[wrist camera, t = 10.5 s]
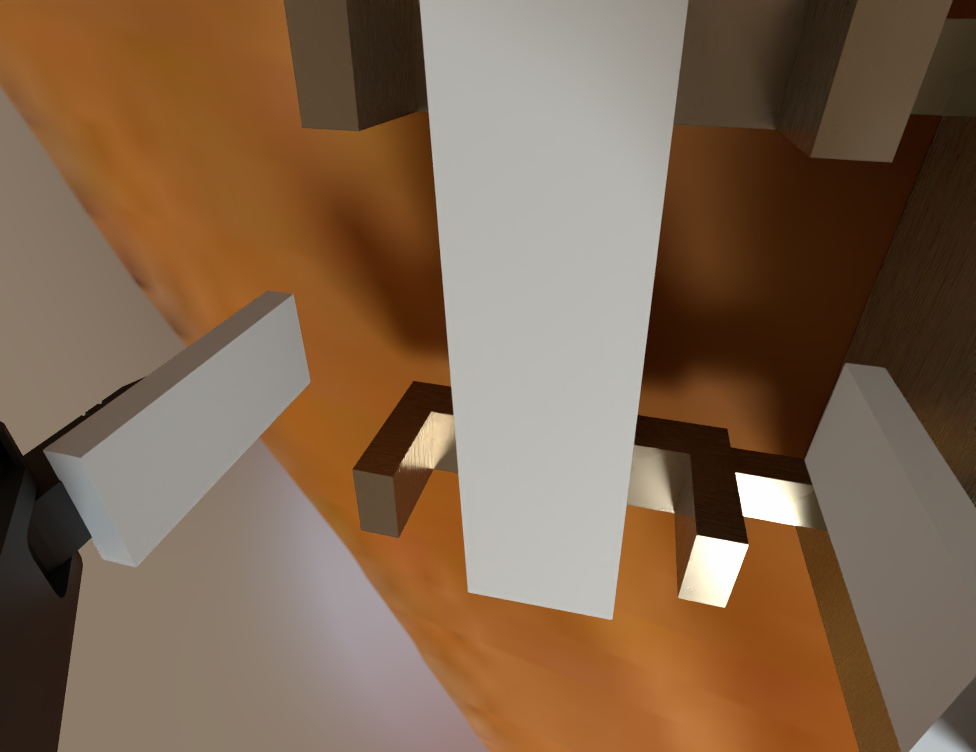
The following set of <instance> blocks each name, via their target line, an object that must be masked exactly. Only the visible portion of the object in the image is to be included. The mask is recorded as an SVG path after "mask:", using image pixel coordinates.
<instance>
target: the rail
mask: <svg viewBox="0 0 976 752" xmlns="http://www.w3.org/2000/svg"><path fill="white" fill-rule="evenodd" d="M419 1H420V13H421V25H422V37H423V49H424V61H425V74H426V86H427V98H428V110H429V122H430V134H431V146H432V159H433V171H434V183H435V195H436V207H437V219H438V231H439V243H440V256H441V268H442V280H443V292H444V304H445V316H446V328H447V341H448V353H449V365H450V377H451V389H452V401H453V413H454V426H455V438H456V450H457V462H458V474H459V486H460V498H461V511H462V523H463V535H464V547H465V559H466V571H467V583H468V592H470V593H475V594H480V595H485V596H490V597H496V598H501V599H506V600H511V601H516V602H522V603H527V604H532V605H537V606H542V607H548V608H553V609H558V610H563V611H568V612H574V613H579V614H584V615H589V616H594V617H600V618H605V619H610V620H612V618H613V610H614V602H615V594H616V585H617V577H618V569H619V561H620V553H621V545H622V537H623V528H624V520H625V512H626V504H627V496H628V488H629V480H630V472H631V463H632V455H633V447H634V439H635V431H636V423H637V415H638V406H639V398H640V390H641V382H642V374H643V366H644V358H645V350H646V341H647V333H648V325H649V317H650V309H651V301H652V293H653V284H654V276H655V268H656V260H657V252H658V244H659V236H660V228H661V219H662V211H663V203H664V195H665V187H666V179H667V171H668V162H669V154H670V146H671V138H672V130H673V122H674V114H675V106H676V97H677V89H678V81H679V73H680V65H681V57H682V49H683V40H684V32H685V24H686V16H687V8H688V0H419Z"/></svg>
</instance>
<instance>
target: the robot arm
mask: <svg viewBox="0 0 976 752" xmlns="http://www.w3.org/2000/svg"><path fill="white" fill-rule="evenodd" d="M309 383H310V377H309V372H308V366H307V361H306V356H305V351H304V346H303V341H302V336H301V330H300V325H299V320H298V315H297V310H296V305H295V300H294V294H289V293H281V292H273V291H266V292H265V293H263V294H262V295H261V296H259V297H258V298H256V299H255V300H254V301H252V302H251V303H249V304H248V305H247V306H245V307H244V308H242V309H241V310H239V311H238V312H237V313H235V314H234V315H232V316H231V317H230V318H228V319H227V320H225V321H224V322H223V323H221V324H220V325H218V326H217V327H216V328H214V329H213V330H211V331H210V332H208V333H207V334H206V335H204V336H203V337H201V338H200V339H199V340H197V341H196V342H194V343H193V344H192V345H190V346H189V347H187V348H186V349H185V350H183V351H182V352H180V353H179V354H178V355H176V356H175V357H173V358H172V359H171V360H169V361H168V362H166V363H165V364H163V365H162V366H161V367H159V368H158V369H156V370H155V371H154V372H152V373H151V374H149V375H148V376H146V377H144V378H142V379H139V380H137V381H135V382H133V383H130V384H128V385H126V386H123V387H121V388H120V389H119V390H117V391H116V392H114V393H113V394H112V395H110V396H108V397H107V398H106V399H104V400H103V401H102V404H97V405H96V406H94V407H93V408H91V409H90V410H88V411H87V412H86V414H85V416H82V415H81V416H80V417H78V418H77V419H75V420H74V421H73V422H71V423H70V424H68V425H67V426H65V427H64V428H63V429H61V430H60V431H58V432H57V433H55V434H54V435H53V436H51V437H50V438H48V439H47V440H45V441H44V442H42V443H41V444H40V445H38V446H37V447H35V448H34V449H32V450H31V451H30V452H28V453H27V454H25V455H24V456H23V455H22V454H21V452H20V450H19V448H18V447H17V445H16V443H15V441H14V440H13V438H12V436H11V434H10V433H9V431H8V429H7V428H6V426H5V424H4V423H2V422H1V421H0V752H57V750H58V743H59V734H60V727H61V720H62V713H63V706H64V698H65V692H66V684H67V677H68V669H69V662H70V655H71V648H72V641H73V634H74V626H75V619H76V612H77V604H78V597H79V589H80V582H81V575H82V568H83V563H82V558H81V556H80V554H79V552H78V550H79V549H80V548H81V547H82V546H83V545H84V544H85V543H86V542H87V541H88V540H89V539H92V541H93V542H94V544H95V546H96V548H97V550H98V552H99V553H100V555H101V557H102V559H104V560H108V561H112V562H116V563H120V564H124V565H128V566H133V567H137V566H138V565H139V564H140V563H141V562H142V561H143V560H144V558H145V557H146V556H147V555H148V554H149V553H150V552H151V551H152V550H153V549H154V548H155V547H156V546H157V545H158V544H159V542H160V541H161V540H162V539H163V538H164V537H165V536H166V535H167V534H168V533H169V532H170V531H171V530H172V529H173V528H174V527H175V525H177V523H178V522H179V521H180V520H181V519H182V518H183V517H184V516H185V515H186V514H187V513H188V512H189V511H190V510H191V508H192V507H193V506H194V505H195V504H196V503H197V502H198V501H199V500H200V499H201V498H202V497H203V496H204V495H205V494H206V493H207V492H208V491H209V489H210V488H211V487H212V486H213V485H214V484H215V483H216V482H217V481H218V480H219V479H220V478H221V477H222V476H223V474H225V472H226V471H227V470H228V469H229V468H230V467H231V466H232V465H233V464H234V463H235V462H236V461H237V460H238V459H239V458H240V456H241V455H242V454H243V453H244V452H245V451H246V450H247V449H248V448H249V447H250V446H251V445H252V444H253V443H254V442H255V440H257V438H258V437H259V436H260V435H261V434H262V433H263V432H264V431H265V430H266V429H267V428H268V427H269V426H270V425H271V424H272V423H273V421H274V420H275V419H276V418H277V417H278V416H279V415H280V414H281V413H282V412H283V411H284V410H285V409H286V408H287V407H288V406H289V404H290V403H291V402H292V401H293V400H294V399H295V398H296V397H297V396H298V395H299V394H300V393H301V392H302V391H303V390H304V389H305V387H306V386H307V385H308V384H309ZM805 463H806V466H807V469H808V472H809V475H810V478H811V481H812V484H813V487H814V490H815V493H816V496H817V500H818V503H819V506H820V509H821V512H822V515H823V518H824V521H825V524H826V527H827V530H828V533H829V536H830V539H831V542H832V545H833V548H834V551H835V554H836V557H837V560H838V563H839V566H840V569H841V572H842V575H843V578H844V581H845V584H846V587H847V590H848V593H849V596H850V599H851V602H852V605H853V608H854V611H855V614H856V617H857V620H858V623H859V626H860V629H861V632H862V635H863V638H864V641H865V644H866V647H867V650H868V653H869V656H870V659H871V662H872V665H873V668H874V672H875V675H876V678H877V681H878V684H879V687H880V690H881V693H882V696H883V699H884V702H885V705H886V708H887V711H888V714H889V717H890V720H891V723H892V726H893V729H894V732H895V735H896V738H897V741H898V744H899V747H900V750H901V752H976V508H975V506H974V505H973V503H972V501H971V500H970V498H969V497H968V495H967V494H966V492H965V491H964V489H963V488H962V486H961V484H960V483H959V481H958V480H957V478H956V477H955V475H954V474H953V472H952V471H951V469H950V467H949V466H948V464H947V463H946V461H945V460H944V458H943V457H942V455H941V454H940V452H939V450H938V449H937V447H936V446H935V444H934V443H933V441H932V440H931V438H930V436H929V435H928V433H927V432H926V430H925V429H924V427H923V426H922V424H921V423H920V421H919V419H918V418H917V416H916V415H915V413H914V412H913V410H912V409H911V407H910V406H909V404H908V402H907V401H906V399H905V398H904V396H903V395H902V393H901V392H900V390H899V389H898V387H897V385H896V384H895V382H894V381H893V379H892V378H891V376H890V375H889V373H888V371H887V370H886V368H883V367H875V366H867V365H859V364H851V363H845V365H844V367H843V370H842V372H841V374H840V377H839V379H838V382H837V384H836V386H835V389H834V391H833V394H832V396H831V398H830V401H829V403H828V406H827V408H826V410H825V413H824V415H823V417H822V420H821V422H820V425H819V427H818V429H817V432H816V434H815V437H814V439H813V441H812V444H811V446H810V449H809V451H808V453H807V456H806V458H805Z"/></svg>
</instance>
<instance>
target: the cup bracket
mask: <svg viewBox="0 0 976 752" xmlns="http://www.w3.org/2000/svg"><path fill="white" fill-rule="evenodd" d="M952 1H953V0H688V8H687V16H686V24H685V32H684V40H683V49H682V57H681V65H680V73H679V81H678V89H677V97H676V106H675V114H674V122H673V124H676V125H696V126H716V127H736V128H756V129H776V130H777V131H778V132H779V133H780V134H782V135H783V136H784V137H785V138H787V139H788V140H789V141H790V142H792V143H793V144H794V145H795V146H797V147H798V148H799V149H800V150H801V151H803V152H804V153H805V154H806V155H808V156H809V157H810V158H825V159H842V160H859V161H876V162H892V161H893V158H894V156H895V153H896V150H897V148H898V145H899V142H900V140H901V137H902V134H903V132H904V129H905V126H906V124H907V121H908V118H909V116H910V114H919V115H942V118H941V121H940V123H939V126H938V128H937V131H936V133H935V136H934V138H933V141H932V143H931V146H930V148H929V151H928V153H927V156H926V158H925V161H924V163H923V165H922V168H921V170H920V173H919V175H918V178H917V180H916V183H915V185H914V188H913V190H912V193H911V195H910V198H909V200H908V203H907V205H906V208H905V210H904V213H903V215H902V218H901V220H900V222H899V225H898V227H897V230H896V232H895V235H894V237H893V240H892V242H891V245H890V247H889V250H888V252H887V255H886V257H885V260H884V262H883V265H882V267H881V270H880V272H879V275H878V277H877V280H876V282H875V284H874V287H873V289H872V292H871V294H870V297H869V299H868V302H867V304H866V307H865V309H864V312H863V314H862V317H861V319H860V322H859V324H858V327H857V329H856V332H855V334H854V337H853V339H852V341H851V344H850V346H849V349H848V351H847V354H846V356H845V359H844V361H843V364H842V366H841V369H840V371H839V374H838V376H837V379H836V381H835V384H834V386H833V389H832V391H831V394H830V396H829V399H828V401H827V403H826V406H825V408H824V411H823V413H822V416H821V418H820V421H819V423H818V426H817V428H816V431H815V433H814V436H813V438H812V441H813V439H814V437H815V434H816V432H817V429H818V427H819V425H820V422H821V420H822V417H823V415H824V413H825V410H826V408H827V406H828V403H829V401H830V398H831V396H832V394H833V391H834V389H835V386H836V384H837V382H838V379H839V377H840V374H841V372H842V370H843V367H844V365H845V363H851V364H859V365H867V366H875V367H883V368H886V370H887V371H888V373H889V375H890V376H891V378H892V379H893V381H894V382H895V384H896V385H897V387H898V389H899V390H900V392H901V393H902V395H903V396H904V398H905V399H906V401H907V402H908V404H909V406H910V407H911V409H912V410H913V412H914V413H915V415H916V416H917V418H918V419H919V421H920V423H921V424H922V426H923V427H924V429H925V430H926V432H927V433H928V435H929V436H930V438H931V440H932V441H933V443H934V444H935V446H936V447H937V449H938V450H939V452H940V454H941V455H942V457H943V458H944V460H945V461H946V463H947V464H948V466H949V467H950V469H951V471H952V472H953V474H954V475H955V477H956V478H957V480H958V481H959V483H960V484H961V486H962V488H963V489H964V491H965V492H966V494H967V495H968V497H969V498H970V500H971V501H972V503H973V505H974V506H975V508H976V19H946V17H947V15H948V12H949V9H950V7H951V4H952ZM284 5H285V12H286V19H287V26H288V32H289V39H290V46H291V53H292V60H293V67H294V73H295V80H296V87H297V94H298V101H299V108H300V114H301V121H302V128H314V129H331V130H348V131H361V130H364V129H367V128H370V127H373V126H376V125H379V124H382V123H385V122H388V121H391V120H393V119H396V118H399V117H402V116H405V115H408V114H411V113H414V112H429V110H428V98H427V86H426V74H425V61H424V49H423V37H422V25H421V13H420V1H419V0H284ZM812 441H811V443H810V446H811V444H812ZM810 446H809V448H808V451H809V449H810ZM808 451H807V453H808ZM807 453H806V456H807ZM806 456H805V458H806ZM805 458H804V459H801V458H794V457H788V456H782V455H775V454H769V453H763V452H756V451H750V450H744V449H737V448H731V446H730V441H729V435H728V430H727V429H726V428H719V427H712V426H706V425H699V424H693V423H686V422H680V421H673V420H667V419H660V418H653V417H647V416H640V415H637V423H636V431H635V439H634V447H633V455H632V463H631V472H630V480H629V488H628V496H627V505H633V506H638V507H644V508H649V509H654V510H660V511H665V512H671V513H674V515H675V539H676V563H677V588H678V598H682V599H687V600H691V601H696V602H701V603H705V604H710V605H715V606H719V607H724V608H725V606H726V604H727V601H728V598H729V596H730V593H731V590H732V588H733V585H734V582H735V580H736V577H737V574H738V572H739V569H740V566H741V564H742V561H743V558H744V556H745V553H746V550H747V548H748V545H749V544H748V539H747V533H746V528H745V522H744V517H743V516H746V517H752V518H757V519H763V520H768V521H774V522H780V523H785V524H791V525H795V527H796V530H797V534H798V537H799V541H800V544H801V548H802V551H803V555H804V559H805V562H806V566H807V569H808V573H809V576H810V580H811V583H812V587H813V590H814V594H815V597H816V601H817V604H818V608H819V611H820V615H821V618H822V622H823V625H824V629H825V632H826V636H827V639H828V643H829V646H830V650H831V653H832V657H833V660H834V664H835V668H836V671H837V675H838V678H839V682H840V685H841V689H842V692H843V696H844V699H845V703H846V706H847V710H848V713H849V717H850V720H851V724H852V727H853V731H854V734H855V738H856V741H857V745H858V748H859V752H901V750H900V747H899V744H898V741H897V738H896V735H895V732H894V729H893V726H892V723H891V720H890V717H889V714H888V711H887V708H886V705H885V702H884V699H883V696H882V693H881V690H880V687H879V684H878V681H877V678H876V675H875V672H874V668H873V665H872V662H871V659H870V656H869V653H868V650H867V647H866V644H865V641H864V638H863V635H862V632H861V629H860V626H859V623H858V620H857V617H856V614H855V611H854V608H853V605H852V602H851V599H850V596H849V593H848V590H847V587H846V584H845V581H844V578H843V575H842V572H841V569H840V566H839V563H838V560H837V557H836V554H835V551H834V548H833V545H832V542H831V539H830V536H829V533H828V530H827V527H826V524H825V521H824V518H823V515H822V512H821V509H820V506H819V503H818V500H817V496H816V493H815V490H814V487H813V484H812V481H811V478H810V475H809V472H808V469H807V466H806V463H805ZM433 469H437V470H443V471H448V472H454V473H458V462H457V450H456V438H455V426H454V413H453V401H452V389H451V387H450V386H443V385H437V384H430V383H424V382H417V381H413V382H412V384H411V385H410V387H409V388H408V390H407V391H406V393H405V394H404V396H403V397H402V398H401V400H400V401H399V403H398V404H397V406H396V407H395V409H394V410H393V411H392V413H391V414H390V416H389V417H388V419H387V420H386V422H385V423H384V424H383V426H382V427H381V429H380V430H379V432H378V433H377V435H376V436H375V438H374V439H373V440H372V442H371V443H370V445H369V446H368V448H367V449H366V451H365V452H364V453H363V455H362V456H361V458H360V459H359V461H358V462H357V464H356V465H355V466H354V468H353V469H352V470H353V476H354V483H355V490H356V497H357V504H358V511H359V517H360V524H361V530H363V531H368V532H372V533H377V534H382V535H386V536H391V537H396V538H399V536H400V534H401V532H402V531H403V529H404V527H405V525H406V523H407V521H408V519H409V517H410V515H411V513H412V511H413V509H414V507H415V505H416V503H417V501H418V499H419V497H420V495H421V493H422V491H423V489H424V487H425V485H426V483H427V481H428V479H429V477H430V475H431V473H432V471H433Z"/></svg>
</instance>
